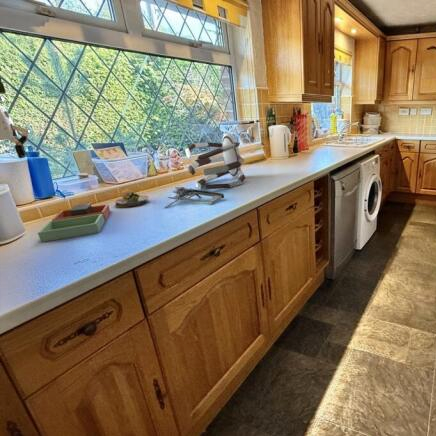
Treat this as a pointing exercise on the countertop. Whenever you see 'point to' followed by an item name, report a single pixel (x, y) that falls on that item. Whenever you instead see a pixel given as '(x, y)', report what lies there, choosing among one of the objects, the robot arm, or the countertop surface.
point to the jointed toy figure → (229, 157)
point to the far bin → (96, 209)
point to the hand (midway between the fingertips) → (2, 159)
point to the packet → (81, 209)
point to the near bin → (71, 227)
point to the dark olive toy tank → (130, 199)
